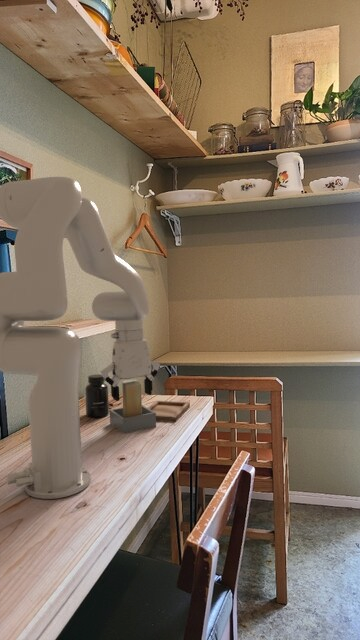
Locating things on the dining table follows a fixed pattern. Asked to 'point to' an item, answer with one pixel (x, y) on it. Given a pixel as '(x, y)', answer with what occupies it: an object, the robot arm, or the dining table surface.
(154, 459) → the dining table surface
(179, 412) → the tray
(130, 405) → the skincare box
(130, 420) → the holder
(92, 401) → the supplement bottle
